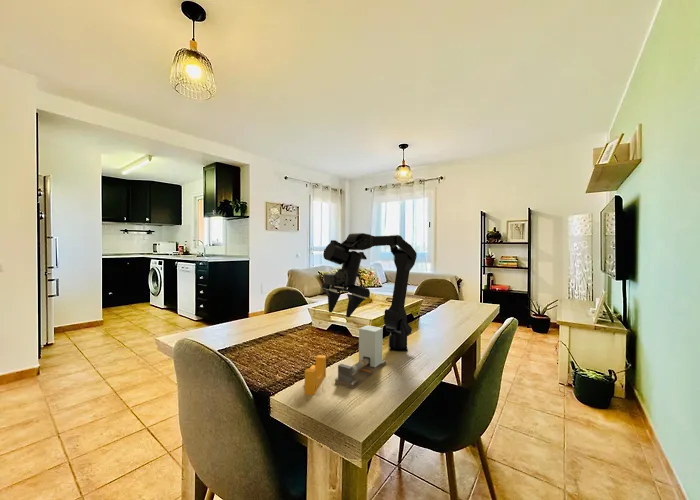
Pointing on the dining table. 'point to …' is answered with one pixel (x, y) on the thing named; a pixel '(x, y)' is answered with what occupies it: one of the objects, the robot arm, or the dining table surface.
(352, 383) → the pipe rig
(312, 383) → the pipe clamp
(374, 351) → the sleeve
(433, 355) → the dining table surface
